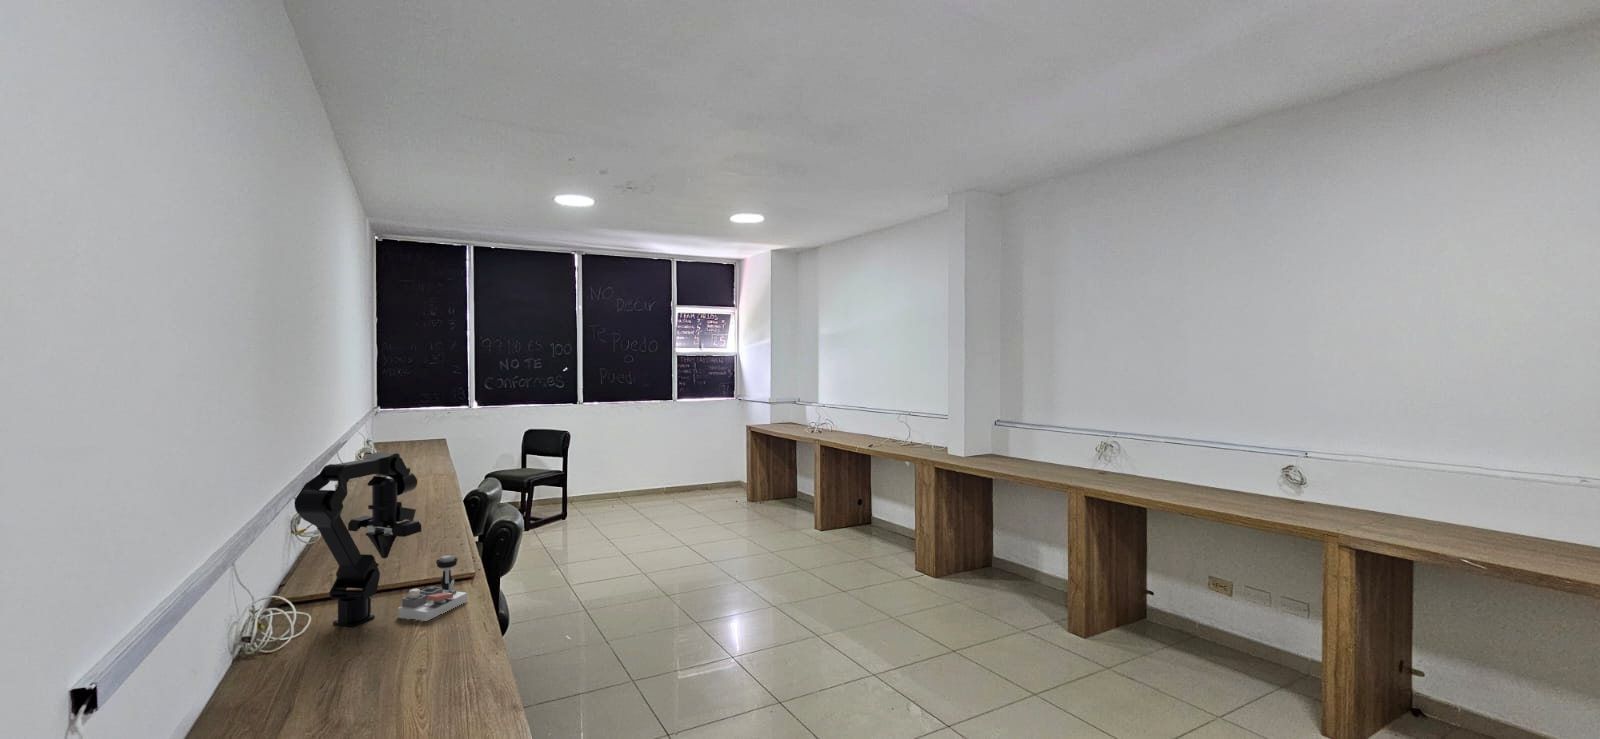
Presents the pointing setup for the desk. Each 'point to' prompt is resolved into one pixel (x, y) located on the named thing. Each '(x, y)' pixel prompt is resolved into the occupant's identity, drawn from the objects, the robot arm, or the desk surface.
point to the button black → (431, 589)
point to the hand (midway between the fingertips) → (384, 557)
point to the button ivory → (414, 594)
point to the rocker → (439, 596)
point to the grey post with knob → (446, 569)
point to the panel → (430, 604)
